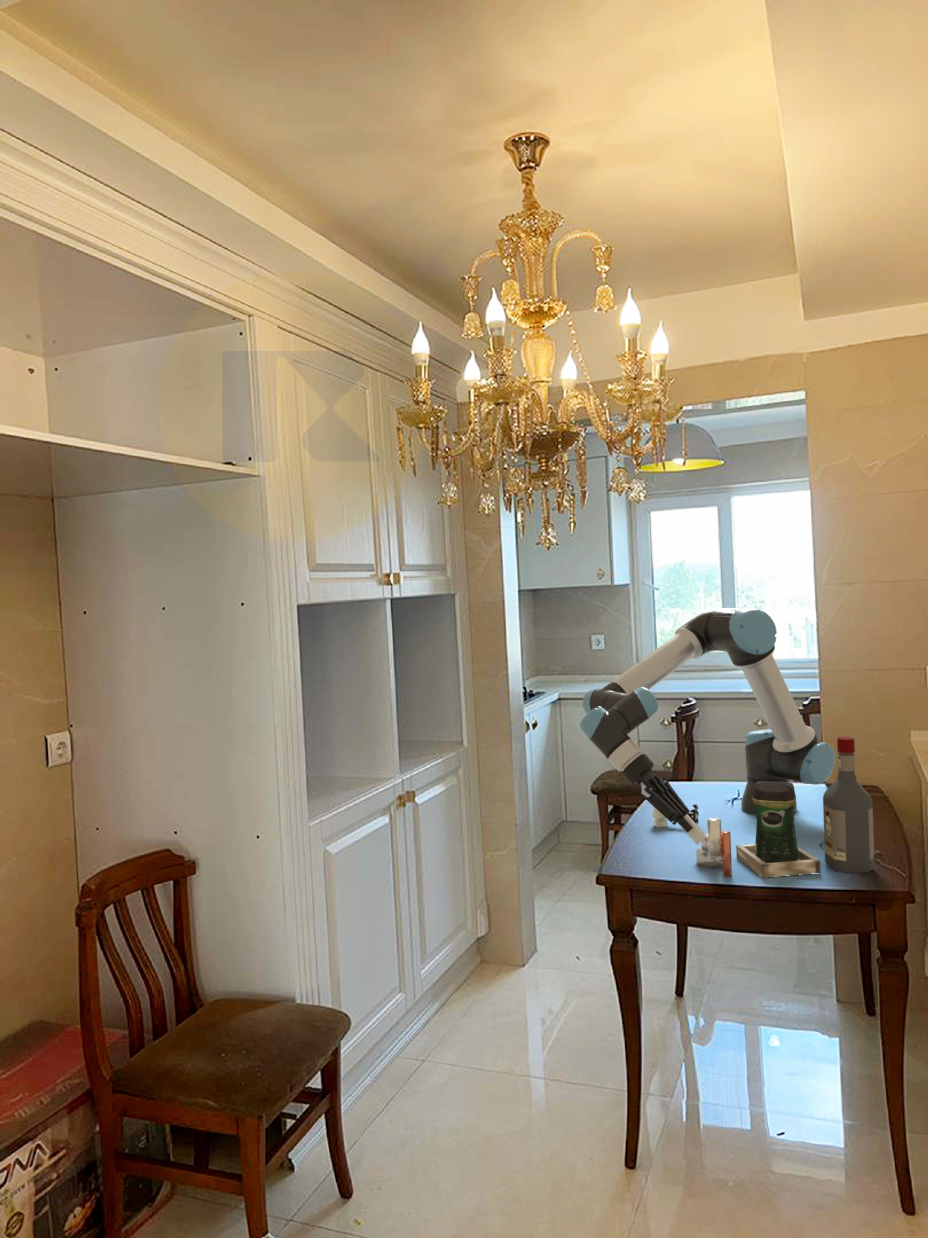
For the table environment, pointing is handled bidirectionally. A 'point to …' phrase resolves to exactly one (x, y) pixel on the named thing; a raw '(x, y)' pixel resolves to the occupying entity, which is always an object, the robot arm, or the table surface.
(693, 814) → the valve
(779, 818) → the coffee jar
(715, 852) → the crank
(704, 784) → the table surface
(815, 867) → the tray
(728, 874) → the crank base
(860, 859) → the liquor
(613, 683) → the robot arm
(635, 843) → the table surface
